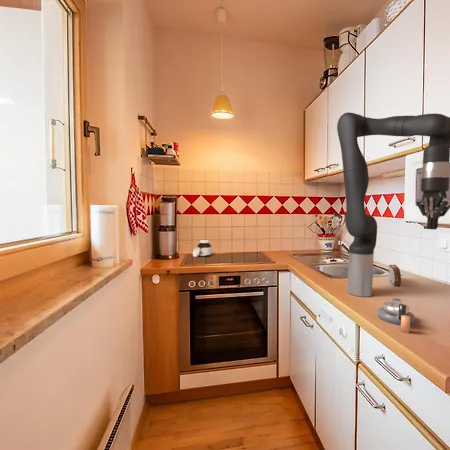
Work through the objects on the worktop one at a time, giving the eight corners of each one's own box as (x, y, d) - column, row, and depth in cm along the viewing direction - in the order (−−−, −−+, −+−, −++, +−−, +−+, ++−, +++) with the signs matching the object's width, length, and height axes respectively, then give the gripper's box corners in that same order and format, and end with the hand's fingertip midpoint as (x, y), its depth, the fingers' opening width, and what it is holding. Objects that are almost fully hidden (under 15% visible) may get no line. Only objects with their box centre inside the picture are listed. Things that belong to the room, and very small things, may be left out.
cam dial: (381, 306, 94) (382, 293, 94) (405, 309, 92) (405, 295, 91) (389, 319, 83) (390, 304, 83) (416, 322, 81) (417, 307, 81)
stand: (371, 313, 94) (372, 300, 94) (400, 312, 95) (400, 299, 94) (401, 333, 79) (402, 318, 79) (435, 332, 80) (436, 317, 79)
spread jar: (213, 256, 201) (213, 240, 200) (204, 258, 192) (204, 242, 191) (199, 254, 207) (199, 239, 207) (190, 257, 198) (190, 240, 197)
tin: (401, 287, 124) (402, 269, 123) (393, 287, 125) (394, 268, 125) (394, 279, 138) (395, 263, 137) (387, 279, 139) (388, 262, 139)
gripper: (409, 179, 97) (407, 227, 99) (440, 174, 84) (437, 231, 85) (430, 179, 98) (427, 227, 99) (464, 174, 85) (460, 231, 86)
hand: (432, 229), depth 92 cm, fingers closed
